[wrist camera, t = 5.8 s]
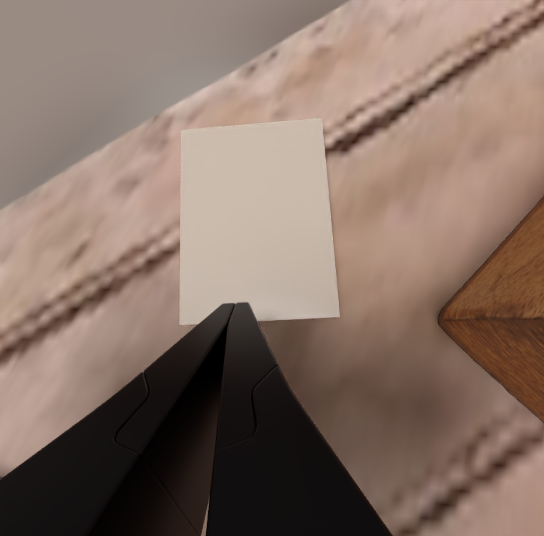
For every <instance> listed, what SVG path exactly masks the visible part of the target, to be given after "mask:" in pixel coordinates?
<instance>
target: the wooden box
mask: <svg viewBox="0 0 544 536" xmlns="http://www.w3.org/2000/svg"><path fill="white" fill-rule="evenodd" d="M438 322H439V325H440V326H441V327H442V328H443V330H444V331H445V332H446V333H447V334H448V335H449V336H450V337H451V338H452V339H453V340H454V341H455V342H456V343H457V344H458V345H459V346H460V347H461V348H462V349H463V350H464V351H465V352H466V353H468V354H469V355H470V356H471V357H472V358H473V359H474V360H475V361H476V362H477V363H478V364H479V365H480V366H482V367H483V368H484V369H485V370H486V371H487V372H488V373H489V374H490V375H491V376H493V377H494V378H495V379H496V380H497V381H498V382H499V383H501V384H502V385H503V386H504V387H505V388H506V389H507V390H508V392H509V393H510V394H512V395H513V396H514V397H516V398H517V399H518V400H519V401H520V402H521V403H522V404H523V405H524V406H526V407H527V408H528V409H529V410H531V411H532V412H533V413H534V414H535V415H536V416H537V417H538V418H540V419H541V420H542V421H543V422H544V197H543V198H542V199H541V200H540V201H539V202H538V204H537V205H536V206H535V207H534V208H533V209H532V210H531V211H530V213H529V214H528V215H527V216H526V217H525V218H524V219H523V220H522V221H521V223H520V224H519V225H518V226H517V227H516V228H515V229H514V230H513V232H512V233H511V234H510V235H509V236H508V237H507V238H506V239H505V240H504V241H503V243H502V244H501V245H500V246H499V247H498V248H497V249H496V250H495V252H494V253H493V254H492V255H491V256H490V257H489V258H488V259H487V261H486V262H485V263H484V264H483V265H482V266H481V267H480V268H479V269H478V271H477V272H476V273H475V274H474V275H473V276H472V277H471V278H470V279H469V280H468V281H467V282H466V283H465V285H464V286H463V287H462V288H461V289H460V290H459V291H458V292H457V293H456V295H455V296H454V297H453V298H452V299H451V300H450V301H449V302H448V303H447V305H446V306H445V307H444V308H443V310H442V311H441V313H440V316H439V321H438Z"/></svg>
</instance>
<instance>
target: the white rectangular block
mask: <svg viewBox="0 0 544 536" xmlns="http://www.w3.org/2000/svg"><path fill="white" fill-rule="evenodd" d="M238 302H248V303H249V304H250V306H251V308H252V310H253V313H254V315H255V317H256V319H257V321H258V322H262V321H282V320H302V319H321V318H337V317H340V312H339V301H338V290H337V279H336V268H335V257H334V246H333V235H332V224H331V213H330V202H329V191H328V180H327V169H326V158H325V147H324V136H323V125H322V118H314V119H302V120H291V121H279V122H267V123H256V124H244V125H233V126H221V127H209V128H198V129H186V130H181V218H180V320H179V325H198V324H199V323H200V322H201V321H203V320H204V319H205V318H206V317H207V316H208V315H210V314H211V313H212V312H213V311H214V310H215V309H217V308H218V307H219V306H220V305H221V304H223V303H235V304H236V303H238Z"/></svg>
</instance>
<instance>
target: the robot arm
mask: <svg viewBox="0 0 544 536" xmlns="http://www.w3.org/2000/svg"><path fill="white" fill-rule="evenodd" d="M209 496H210V499H209ZM208 501H209V509H208V519H207V529H206V536H393V535H392V534H391V533H390V531H389V530H388V528H387V527H386V525H385V524H384V523H383V521H382V520H381V518H380V517H379V516H378V514H377V513H376V511H375V510H374V508H373V507H372V506H371V504H370V503H369V501H368V500H367V498H366V497H365V496H364V494H363V493H362V491H361V490H360V488H359V487H358V486H357V484H356V483H355V481H354V480H353V478H352V477H351V476H350V474H349V473H348V471H347V470H346V468H345V467H344V466H343V464H342V463H341V461H340V460H339V458H338V457H337V456H336V454H335V453H334V451H333V450H332V448H331V447H330V446H329V444H328V443H327V441H326V440H325V438H324V437H323V436H322V434H321V433H320V431H319V430H318V428H317V427H316V426H315V424H314V423H313V421H312V420H311V418H310V417H309V416H308V414H307V413H306V411H305V410H304V408H303V407H302V405H301V404H300V402H299V401H298V399H297V398H296V396H295V395H294V393H293V391H292V390H291V388H290V386H289V384H288V382H287V380H286V379H285V377H284V375H283V373H282V371H281V368H280V367H279V365H278V363H277V361H276V359H275V357H274V355H273V352H272V350H271V348H270V346H269V344H268V342H267V340H266V338H265V336H264V334H263V331H262V329H261V327H260V325H259V323H258V321H257V319H256V317H255V315H254V313H253V310H252V308H251V306H250V304H249V303H248V302H238V303H236V304H235V303H223V304H221V305H220V306H219V307H218V308H217V309H215V310H214V311H213V312H212V313H211V314H210V315H208V316H207V317H206V318H205V319H204V320H203V321H201V322H200V323H199V324H198V325H197V326H196V327H194V328H193V329H192V330H191V331H190V332H189V333H187V334H186V335H185V336H184V337H183V338H182V339H180V340H179V341H178V342H177V343H176V344H174V345H173V346H172V347H171V348H170V349H169V350H167V351H166V352H165V353H164V354H163V355H162V356H160V357H159V358H158V359H157V360H156V361H155V362H153V363H152V364H151V365H150V366H149V367H148V368H146V369H145V370H144V373H143V372H141V373H140V374H139V375H138V376H136V377H135V378H134V379H133V380H132V381H131V382H129V383H128V384H127V385H126V386H124V387H123V388H122V389H121V390H120V391H118V392H117V393H116V394H115V395H113V396H112V397H111V398H110V399H108V400H107V401H106V402H104V403H103V404H102V405H100V406H99V407H98V408H96V409H95V410H94V411H93V412H91V413H90V414H89V415H87V416H86V417H84V418H83V419H82V420H80V421H79V422H78V423H76V424H75V425H74V426H72V427H71V428H70V429H68V430H67V431H65V432H64V433H63V434H61V435H60V436H59V437H57V438H56V439H55V440H53V441H52V442H51V443H49V444H48V445H46V446H45V447H44V448H42V449H41V450H40V451H38V452H37V453H36V454H34V455H33V456H32V457H30V458H29V459H27V460H26V461H25V462H23V463H22V464H21V465H19V466H18V467H17V468H15V469H14V470H13V471H11V472H10V473H8V474H7V475H6V476H4V477H3V478H2V479H0V536H201V533H202V529H203V524H204V519H205V515H206V510H207V505H208Z"/></svg>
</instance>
